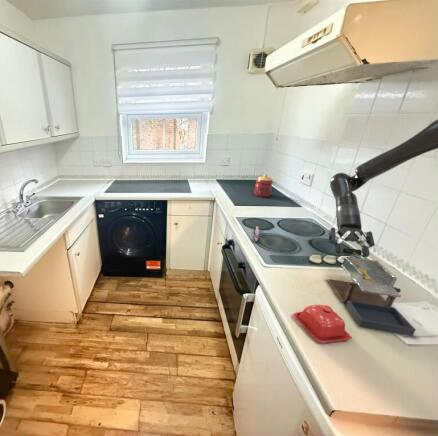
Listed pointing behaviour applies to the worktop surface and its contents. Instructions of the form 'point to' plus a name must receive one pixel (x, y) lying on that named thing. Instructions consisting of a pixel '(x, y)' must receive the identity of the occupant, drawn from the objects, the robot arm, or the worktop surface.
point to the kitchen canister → (263, 186)
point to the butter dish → (322, 323)
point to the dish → (369, 274)
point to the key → (365, 274)
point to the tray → (379, 317)
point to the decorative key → (256, 233)
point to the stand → (359, 293)
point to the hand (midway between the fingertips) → (352, 255)
